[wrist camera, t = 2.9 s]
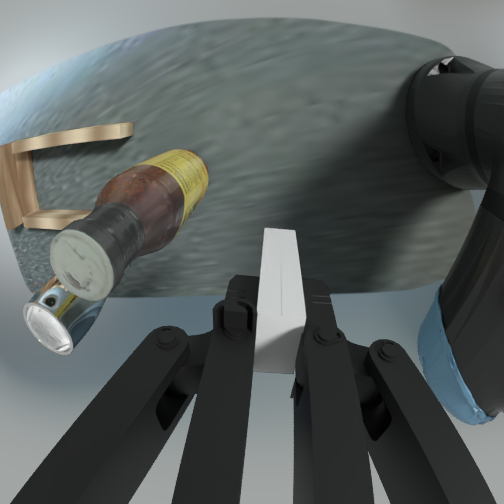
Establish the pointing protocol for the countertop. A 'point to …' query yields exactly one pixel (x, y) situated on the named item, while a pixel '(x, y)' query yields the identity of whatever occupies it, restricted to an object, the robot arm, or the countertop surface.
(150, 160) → the sauce bottle
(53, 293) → the beer glass
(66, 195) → the countertop surface
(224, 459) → the robot arm
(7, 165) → the bracket
